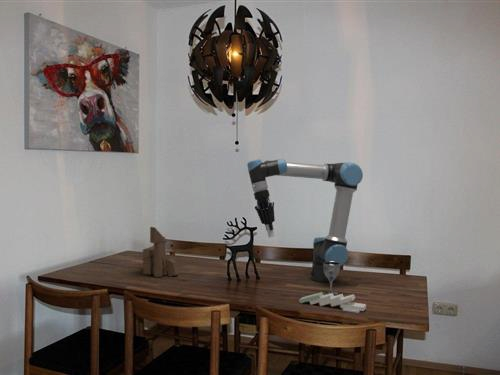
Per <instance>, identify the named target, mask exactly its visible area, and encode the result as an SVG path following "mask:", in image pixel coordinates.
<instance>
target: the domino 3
mask: <svg viewBox="0 0 500 375" xmlns="http://www.w3.org/2000/svg"><path fill="white" fill-rule="evenodd" d="M343 294H344V293H340V294H338V295H334V297H333V298H332V299H329V300H326V301H322V302H319V303H318V305H319V307H323V306H326V305H330V303H333V302H336V301H340V300H341V299H342V298H344V297H345V296H344V295H343Z"/></svg>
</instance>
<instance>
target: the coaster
mask: <svg viewBox="0 0 500 375" xmlns="http://www.w3.org/2000/svg"><path fill="white" fill-rule="evenodd" d="M342 311H343V312H349V313H357V314H360V312H361V311H359V310H352V309H346V308H342Z"/></svg>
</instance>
